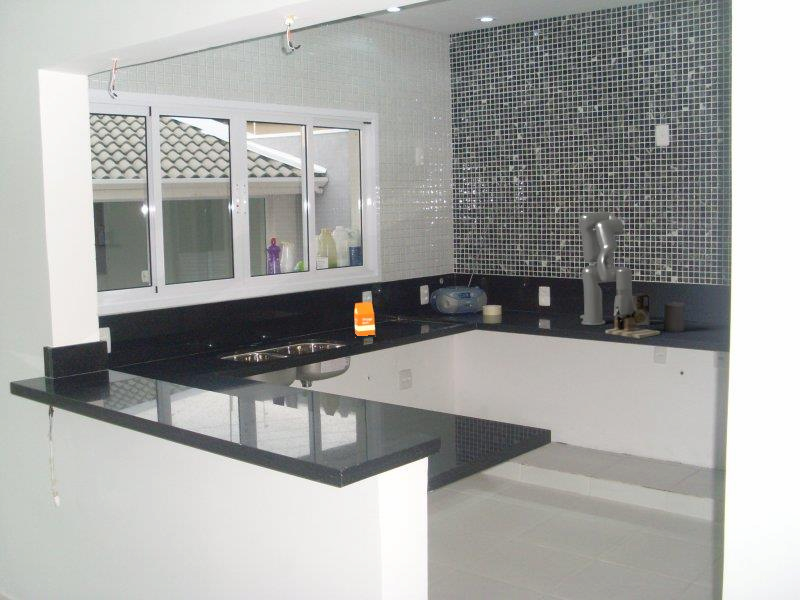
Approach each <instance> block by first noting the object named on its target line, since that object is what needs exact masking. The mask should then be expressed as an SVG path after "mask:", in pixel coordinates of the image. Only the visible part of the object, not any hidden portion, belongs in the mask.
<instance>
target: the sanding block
mask: <svg viewBox="0 0 800 600" xmlns="http://www.w3.org/2000/svg"><path fill="white" fill-rule="evenodd" d="M613 317H614V316H613ZM620 318H621V316H620ZM623 327H624V329H618V321H617V319H616V318H615V317H614V329H618V330H625V331H631V330H635V328H636V325H635V318H631V317H626V316H623Z"/></svg>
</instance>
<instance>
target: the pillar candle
mask: <svg viewBox="0 0 800 600" xmlns="http://www.w3.org/2000/svg"><path fill="white" fill-rule="evenodd" d="M663 330H664V331H665V332H670V333H680V332H684V331H685V303H684V302H675V301H673V302H672V301H671V302H665V303H664V329H663Z"/></svg>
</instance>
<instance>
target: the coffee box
mask: <svg viewBox="0 0 800 600" xmlns="http://www.w3.org/2000/svg"><path fill="white" fill-rule="evenodd" d="M632 296H633V303H634V311H635V314H634V315H633V317H632V318H635V326H648V325H649V326H650V295H649V293H647V292H646V293H632Z"/></svg>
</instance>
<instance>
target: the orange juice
mask: <svg viewBox="0 0 800 600" xmlns="http://www.w3.org/2000/svg"><path fill="white" fill-rule="evenodd" d="M354 304H355V305H354V313H353V314H354V315H353V316H354V332H355V333H354V334H356V335H357V336H368V335H375V336H376V327H375V326H376V325H375V312H374V308H373V303H372V301H368V302H367V301H366V302H356V303H354Z"/></svg>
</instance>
